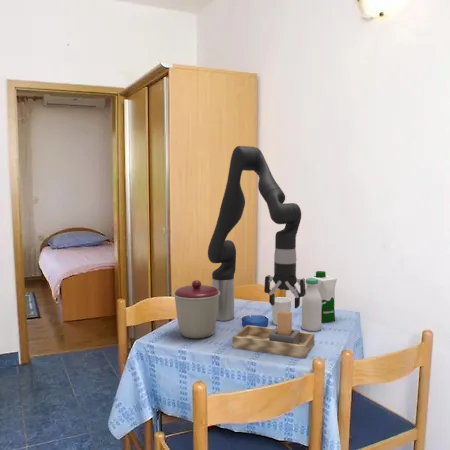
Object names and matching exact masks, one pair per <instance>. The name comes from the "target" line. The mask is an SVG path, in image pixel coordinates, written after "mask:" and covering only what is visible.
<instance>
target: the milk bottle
mask: <svg viewBox="0 0 450 450" xmlns="http://www.w3.org/2000/svg"><path fill="white" fill-rule="evenodd" d="M317 285H318V279H316V278H311V277H307V278H305V290H306V294H305V295H304V296H303V297H301V298H302V299H301V328H302V330H304V331H306V332H307V331H308V332H317V331H320V330H322V329H321V328H322V323H321V321H322V301H321V296H320V293H319V291H318V288H317Z"/></svg>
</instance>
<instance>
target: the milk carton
mask: <svg viewBox="0 0 450 450" xmlns="http://www.w3.org/2000/svg"><path fill="white" fill-rule="evenodd" d="M310 278H316V279H318V285H317V288H318V291H319V293H320V296H321V301H322V321H321V324H323V323H331V322H335V321H336V317H335V315H336V314H335V289H336V284H337V280H338V279H337V278H336V277H334V276H330V275H327V274H326V271H322V270H317V271H315V276H310Z"/></svg>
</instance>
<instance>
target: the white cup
mask: <svg viewBox="0 0 450 450" xmlns="http://www.w3.org/2000/svg"><path fill="white" fill-rule="evenodd" d="M291 307H292V299H291V298H289V297H284V296H279V297H278V296H277V297H276V296H275V304H274V305H273V306H272V305H271V311H272V313H271V314H272V324H274V325H275V326H277V314H278V313H279V312H280V311H287V312H292V311H291V310H292V309H291Z"/></svg>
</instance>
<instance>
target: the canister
mask: <svg viewBox="0 0 450 450" xmlns="http://www.w3.org/2000/svg"><path fill="white" fill-rule="evenodd" d="M219 295H220V291H219V290H217V289H216V288H214V287H212V286H210V285H205V284H202V282H201V281H200V280H198V279H196V280H193V281H192V282H191V285H185V286H182V287H179V288H177V289H176V290H174V291H173V292H172V296H173V297H174V301H175V309H176V310H175V311H176V317H177V323H178V329H179V333H180V334H181V335H182V336H183V337H185V338H189V339H203V338H207V337H210V336H211V335H213V333H214V332H215V331H216V330H215V329H216V325H217V320H216V317H217V308H218V297H219Z"/></svg>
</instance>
